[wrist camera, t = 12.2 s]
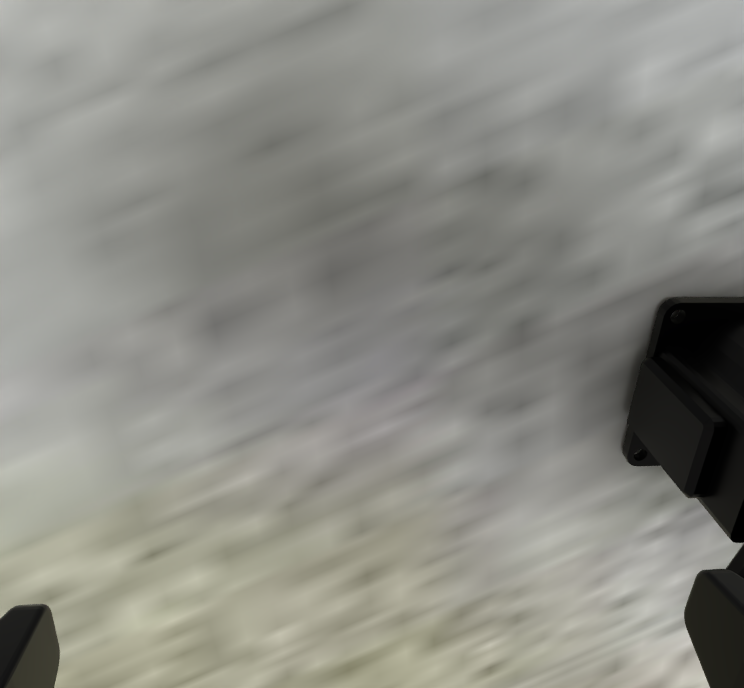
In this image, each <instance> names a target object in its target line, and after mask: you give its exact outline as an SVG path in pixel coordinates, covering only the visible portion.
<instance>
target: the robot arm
mask: <svg viewBox="0 0 744 688" xmlns="http://www.w3.org/2000/svg"><path fill="white" fill-rule="evenodd" d="M676 310H679V313H678V315H677V316H676V317H675V318H672V319H671V315H672V313H674V312H675V311H676ZM627 423H628V425H629V426H628V430H627V434H626V438H625V441H624V445H623V452H622V453H623V455H624V457H625V458H626V460H627V461H628V462H629V463H630V464H631V465H633V466H660V465H661V466H662V468H663V469H664V470H665V471H666V473H667V474H668V475H669V476H670V478H671V479H672V480H673V481H674V483H675V484H676V485H677V486H678V488H679V489H680V490H681V491H682V493H683V494H684V495H685V496H686V497H688V498H697V499H698V500H699V501H700V503H701V504H702V505H703V506H704V507H705V509H706V510H707V511H708V512H709V514H710V515H711V516H712V517H713V518H714V520H715V521H716V522H717V523H718V525H719V526H720V527H721V528H722V529H723V531H724V532H725V533H726V534H727V536H728V537H729V538H730V539H731V540H732V542H736V543H744V298H672V299H669V300H667V301H665V302H664V303H663V304H662V305H661V306H660V308H659V310H658V313H657V317H656V321H655V325H654V329H653V333H652V336H651V340H650V344H649V348H648V352H647V356H646V359H645V360H644V361H643V363H642V364H641V368H640V372H639V376H638V380H637V384H636V388H635V392H634V396H633V400H632V404H631V408H630V412H629V415H628V419H627ZM640 449H642V450H641V451H640V452H639V453H637V454H635V452H636V451H638V450H640ZM684 619H685V624H686V628H687V631H688V633H689V636H690V638H691V641H692V643H693V646H694V648H695V651H696V653H697V656H698V658H699V661H700V663H701V666H702V668H703V671H704V673H705V676H706V679H707V681H708V684H709V686H710V688H744V544H743V545H742V547H741V548H740V550H739V551H738V552H737V554H736V555H735V557H734V558H733V559H732V561H731V562H730V564H729V565H728V566H727V568H726V569H712V570H703V571H701V572H699V573H698V574H697V576H696V578H695V581H694V584H693V587H692V590H691V593H690V595H689V598H688V601H687V604H686V607H685V612H684ZM59 659H60V649H59V643H58V639H57V634H56V630H55V625H54V621H53V617H52V612H51V610H50V608H49V606H47V605H45V604H32V605H18V606H15V607H13V608H12V609H10V610H9V611H8V612H7V613H6V614H5V615H4V616H3V617H2V618H0V688H54V685H55V681H56V676H57V671H58V666H59Z"/></svg>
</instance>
